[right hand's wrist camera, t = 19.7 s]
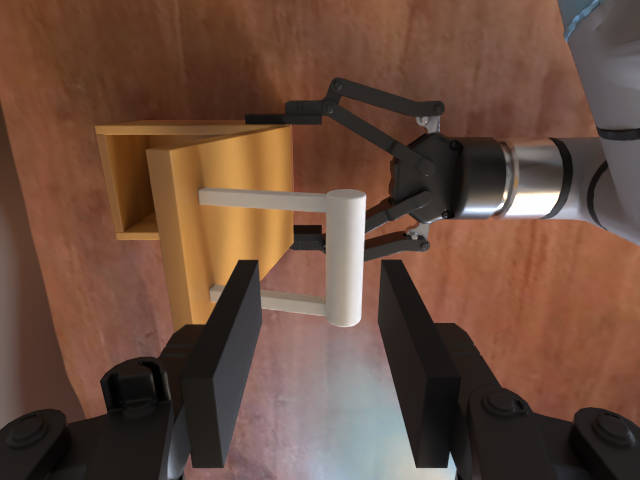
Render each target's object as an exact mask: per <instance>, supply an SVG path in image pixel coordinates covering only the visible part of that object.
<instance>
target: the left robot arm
mask: <svg viewBox="0 0 640 480" xmlns="http://www.w3.org/2000/svg"><path fill="white" fill-rule="evenodd" d="M557 1H558V5H559V9H560V13H561V17H562V21H563V26H564V30H565V31H564V33H563V36H564V38H565V40H566V42H568V44H569V47H570V50H571V53H572V56H573V59H574V62H575V65H576V68H577V71H578V74H579V77H580V80H581V83H582V86H583V89H584V92H585V95H586V98H587V101H588V104H589V106H590V109H591V112H592V115H593V118H594V121H595V124H596V128H597V131H598V134H599V137H591V138H530V137H502V138H499V139H497V140H495V139H493V138H491V137H446V136H444V135H442V134H441V133H439V130H440V115H441V114H442V113H443V112H444V109H445V106H444V104H443V103H442V102H441V101H422V102H415V101H412V100H409V99H406V98H402V97H399V96H396V95H393V94H390V93H386V92H383V91H380V90H377V89H374V88H371V87H367V86H364V85H361V84H358V83H355V82H352V81H348V80H345V79H342V78H334V79H333V80H332V82H331V84H330V86H329V89H328V92H327V95H326V97H325V98H324V99H323V100H320V101H289V102H287V103H285V114H249V115H245V124H286V125H322V116H329V117H330V118H332V119H334V120H335V121H337V122H339V123H340V124H342V125H344V126H345V127H347V128H349V129H350V130H352V131H354V132H355V133H357V134H359V135H360V136H362V137H364V138H365V139H367V140H368V141H370V142H372V143H373V144H375V145H377V146H378V147H380V148H382V149H383V150H385V151H387V152H388V153H390V154H391V155H393V156H394V157H393V159H392V161H390V171H391V176H392V178H391V181H390V184H389V194H390V197H388V198H386V199H384V200H382V201H381V202H380V203H379V204H378V205H376V206H374V207H372V208H371V209H369V210H367V211H365V233H367V232H369V231H371V230H373V229H375V228H377V227H379V226H381V225H382V224H384V223H386V222H388V221H393V220H396V219H398V218H400V217H401V216H403V215H405V214H409V215H410V216H412V217H413V218H414V219H416V220H417V223H416V224H415V225H413V226H409V227H407V228H406V229H405V231H399V232H394V233H390V234H386V235H382V236H379V237H375V238H371V239H368V240H364V258H363V262H364V261H368V260H372V259H376V258H380V257H383V256H387V255H391V254H395V253H399V252H402V251H418V252H425V251H427V250H428V249H429V247H430V243H429V242H428V240H427V237H428V231H429V225H430V224H431V223H433V222H435V221H437V220H441V219H487V218H489V217H492V218H493V219H497V220H498V219H577V220H583V221H587V222H589V223H592V224H594V225H596V226H598V227H600V228H602V229H605V230H607V231H610V232H612V233H614V234H616V235H618V236H620V237H622V238H624V239H626V240H629V241H631V242H633V243H635V244H637V245H639V246H640V0H557ZM341 96H345V97H348V98H351V99H354V100H358V101H361V102H364V103H367V104H370V105H374V106H377V107H380V108H383V109H387V110H390V111H393V112H396V113H399V114H403V115H407V116H413V117H414V122H415V123H416V124H417V125H420V126H423V127H424V128H425V131H426V133H424V134H423V135H422V136H420V137H419V138H417V139H416V140H414V141H413V142H412V143H410V144H409V145H407V146H405V145H403V144H401V143H400V142H398V141H396V140H395V139H393V138H391V137H390V136H388V135H387V134H385V133H383V132H382V131H380V130H378V129H377V128H375V127H373V126H372V125H370V124H369V123H367V122H365V121H364V120H362V119H360V118H359V117H357V116H356V115H354V114H352V113H351V112H349V111H347V110H346V109H344V108H342V107H341V106H339V105H338V104H339V101H340V99H341ZM293 234H294V243H293V244H292V245H291V246H290V249H293V250H321V251H323V252H324V253H325V254H326V233H325V234H322V225H293Z"/></svg>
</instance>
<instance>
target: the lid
mask: <svg viewBox="0 0 640 480" xmlns="http://www.w3.org/2000/svg"><path fill="white" fill-rule="evenodd" d="M146 156H147V162H148V169H149V175H150V182H151V188H152V194H153V201H154V207H155V213H156V220H157V226H158V233H159V239H160V245H161V252H162V258H163V264H164V271H165V277H166V284H167V290H168V296H169V303H170V309H171V315H172V322H173V328H174V333H175V332H176V331H178V330H179V329H180V328H182V327H183V326H184V325H186V324H206V322H207V321H208V319H209V317H210V315H211V313H212V311H213V309H214V307H215V305H216V303H217V301H218V299H219V297H220V295H221V293H222V291H223V289H224V287H225V285H226V284H227V282H228V280H229V278H230V276H231V274H232V272H233V270H234V268H235V266H236V264H237V262H238V260H259V276H260V281H261V280H262V279H263V278H264V276H265V275H266V274H267V273H268V272H269V271H270V269H271V268H272V267H273V266H274V265H275V264H276V262H277V261H278V260H279V259H280V258H281V257H282V256H283V254H284V253H285V252H286V251H287V250H288V249H289V247H290V246H291V245H292V244H293V243H294V234H293V211H308V212H323V213H326V297H320V296H312V295H303V294H294V293H286V292H277V291H268V290H260V292H261V308H264V309H272V310H280V311H287V312H295V313H303V314H311V315H319V316H326V319H327V321H328V322H329V323H331V324H333V325H335V326H340V327H349V326H353V325H355V324H357V323H358V322H359V321H360V319H361V305H362V281H363V258H364V234H365V210H366V194H365V193H364V192H362V191H358V190H352V189H339V190H332V191H329V192H328V193H327V194H320V193H301V192H292V159H291V126H273V127H267V128H262V129H256V130H250V131H245V132H239V133H234V134H228V135H222V136H217V137H211V138H205V139H200V140H194V141H189V142H183V143H177V144H172V145H166V146H161V147H155V148H149V149H146Z"/></svg>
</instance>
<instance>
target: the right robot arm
mask: <svg viewBox="0 0 640 480" xmlns="http://www.w3.org/2000/svg"><path fill="white" fill-rule="evenodd" d="M261 324H262V309H261V292H260V276H259V260H238V262H237V264H236V266H235V268H234V270H233V272H232V274H231V276H230V278H229V280H228V282H227V284H226V285H225V287H224V289H223V291H222V293H221V295H220V297H219V299H218V301H217V303H216V305H215V307H214V309H213V311H212V313H211V315H210V317H209V319H208V321H207V322H206V324H186V325H184V326H183V327H182V328H180V329H179V330H178V331H176V332H175V333H174V334H173V335H172V337H171V338H170V340H169V341H168V343H167V345H166V347H165V348H164V349H163V351H162V352H161V354H160V357H158V358H154V357H138V358H134V359H130V360H127V361H124V362H122V363H120V364H118V365H116V366H114V367H113V368H112V369H110V370H109V371H108V372H106V373H105V375H104V376H103V378H102V379H101V380H100V383H101V387H102V391H103V395H104V399H105V403H106V407H107V411H108V412H107V414H105V415H101V416H98V417H95V418H90V419H86V420H82V421H78V422H73V423H69V424H68V422H67V419H66V415H64V414H63V413H62V412H61V411H60V410H54V409H45V410H37V411H34V412H31V413H28V414H26V415H23V416H21V417H19V418H17V419H15V420H14V421H12V422H10V423H8V424H7V425H6V426H5V427H3V428H2V429H1V430H0V480H185V475H184V467H185V465H186V462H187V459H188V457H189V454H191V460H192V466H193V468H224V465H225V461H226V457H227V454H228V450H229V446H230V442H231V438H232V435H233V431H234V427H235V423H236V419H237V416H238V412H239V408H240V404H241V400H242V397H243V393H244V389H245V385H246V381H247V377H248V374H249V370H250V366H251V362H252V358H253V355H254V351H255V347H256V343H257V339H258V336H259V332H260V328H261ZM378 324H379V328H380V332H381V336H382V339H383V343H384V347H385V351H386V355H387V358H388V362H389V366H390V370H391V374H392V378H393V381H394V385H395V389H396V393H397V397H398V400H399V404H400V408H401V412H402V416H403V419H404V423H405V427H406V431H407V435H408V438H409V442H410V446H411V450H412V454H413V457H414V461H415V465H416V468H447V466H448V460H449V454H450V452H451V455H452V457H453V460H454V463H455V465H456V468H457V470H456V475H455V480H640V428H639V427H638V426H637V425H636V424H634V423H633V422H632V421H630V420H628V419H626V418H624V417H623V416H621V415H619V414H617V413H614V412H611V411H608V410H605V409H600V408H593V407H589V408H583V409H580V410H579V411H578V412H577V413H575V415H574V419H573V422H569V421H565V420H561V419H556V418H552V417H548V416H544V415H541V414H537V413H534V412H533V411H532V410H531V408H530V406H529V405H528V403H527V402H526V401H525V400H524V399H522V398H521V397H520V396H519V395H518V394H516V393H514V392H512V391H510V390H508V389H505V388H502V387H501V386H500V384H499V382H498V381H497V379H496V378H495V376H494V375H493V373H492V371H491V370H490V368H489V367H488V365H487V363H486V362H485V360H484V359H483V357H482V356H481V355H480V352H479V351H478V349H477V348H476V346H474V343H473V341H472V340H471V338H470V337H469V335H468V334H467V332H465V331H464V330H463V329H461V328H460V327H459V326H457V325H456V324H455V323H434V322H433V321H432V319H431V317H430V315H429V313H428V311H427V309H426V307H425V305H424V303H423V301H422V299H421V297H420V295H419V293H418V291H417V289H416V287H415V285H414V284H413V282H412V280H411V278H410V276H409V274H408V272H407V270H406V268H405V266H404V264H403V262H402V260H381V276H380V292H379V309H378Z"/></svg>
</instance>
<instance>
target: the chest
mask: <svg viewBox="0 0 640 480" xmlns="http://www.w3.org/2000/svg"><path fill="white" fill-rule="evenodd" d="M273 126H291V159H292V192H294V179H293V139H292V125H286V124H245V120H138V121H131V122H122V123H113V124H103V125H95V126H94V127H95V132H96V134H97V135H96V138H97V143H98V148H99V153H100V158H101V163H102V168H103V173H104V178H105V183H106V188H107V193H108V198H109V204H110V209H111V214H112V219H113V224H114V229H115V232H116V238H117V240H160V239H159V233H158V226H157V220H156V213H155V207H154V201H153V194H152V188H151V182H150V175H149V169H148V162H147V156H146V149H149V148H155V147H161V146H166V145H172V144H177V143H183V142H189V141H194V140H200V139H205V138H211V137H217V136H222V135H228V134H234V133H239V132H245V131H250V130H256V129H262V128H267V127H273ZM293 215H294V211H293Z"/></svg>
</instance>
